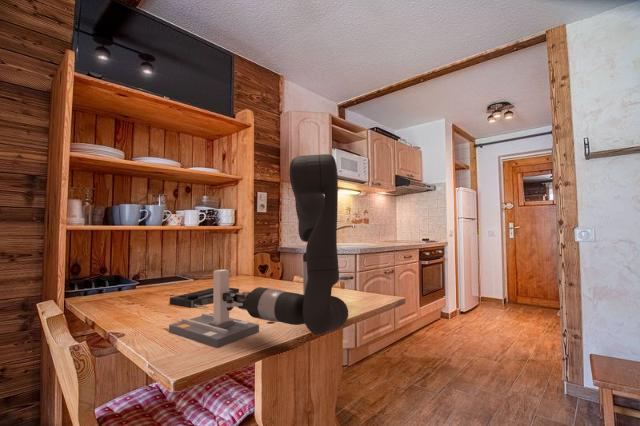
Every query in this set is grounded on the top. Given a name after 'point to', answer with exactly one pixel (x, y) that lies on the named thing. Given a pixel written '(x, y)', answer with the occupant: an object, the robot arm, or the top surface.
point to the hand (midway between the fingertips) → (224, 296)
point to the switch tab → (220, 299)
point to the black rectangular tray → (196, 298)
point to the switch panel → (213, 330)
